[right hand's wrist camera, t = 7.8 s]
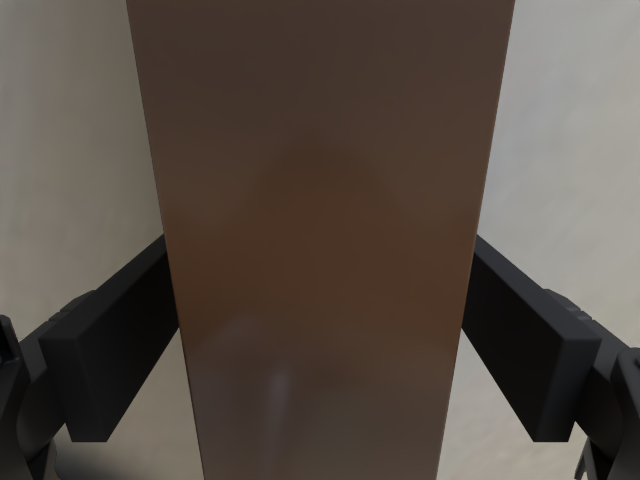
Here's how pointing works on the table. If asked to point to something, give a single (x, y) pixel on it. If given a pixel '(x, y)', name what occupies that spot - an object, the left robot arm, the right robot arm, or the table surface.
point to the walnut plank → (320, 219)
